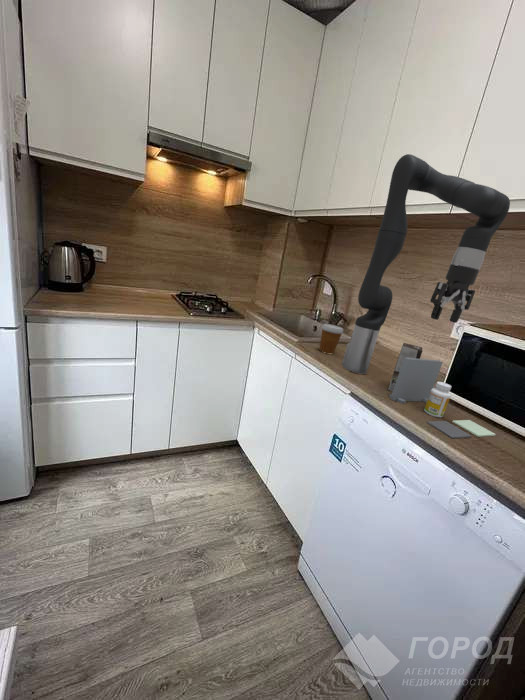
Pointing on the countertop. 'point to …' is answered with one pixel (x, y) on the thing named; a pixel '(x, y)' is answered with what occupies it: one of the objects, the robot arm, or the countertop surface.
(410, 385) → the screen
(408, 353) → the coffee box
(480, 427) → the green pad
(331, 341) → the disposable coffee cup
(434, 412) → the supplement bottle
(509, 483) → the countertop surface
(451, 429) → the grey pad
